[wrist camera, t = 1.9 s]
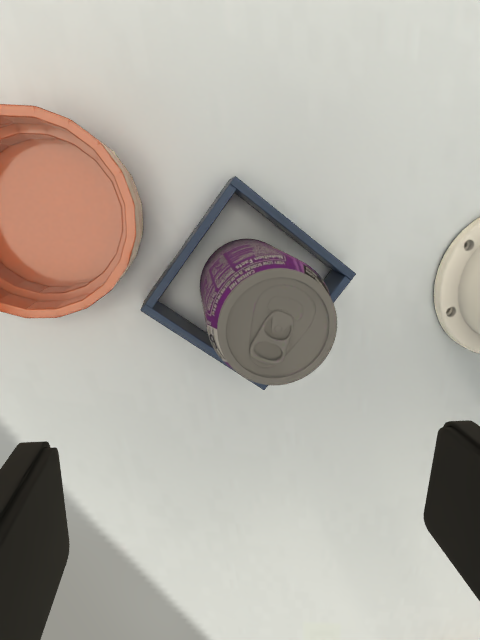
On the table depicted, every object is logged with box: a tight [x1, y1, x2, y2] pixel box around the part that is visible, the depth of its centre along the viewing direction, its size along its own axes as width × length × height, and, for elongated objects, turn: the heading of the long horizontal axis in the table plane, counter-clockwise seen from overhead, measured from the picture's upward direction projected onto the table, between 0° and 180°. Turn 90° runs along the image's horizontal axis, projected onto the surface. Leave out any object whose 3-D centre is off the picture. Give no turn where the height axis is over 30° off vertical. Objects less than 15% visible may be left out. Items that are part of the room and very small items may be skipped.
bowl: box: [0, 104, 143, 318], centre depth 26 cm, size 12×12×5 cm
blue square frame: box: [141, 176, 356, 390], centre depth 30 cm, size 11×11×3 cm
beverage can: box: [200, 239, 337, 385], centre depth 26 cm, size 7×7×12 cm
